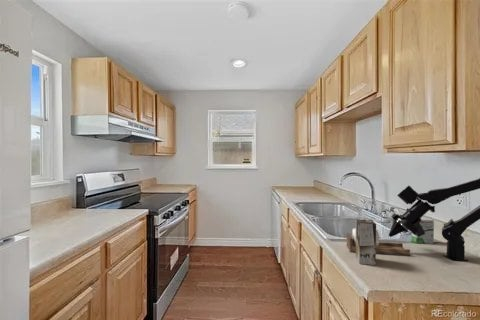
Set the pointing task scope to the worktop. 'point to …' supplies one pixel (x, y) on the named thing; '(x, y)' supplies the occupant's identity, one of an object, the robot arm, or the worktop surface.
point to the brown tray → (382, 248)
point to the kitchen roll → (355, 238)
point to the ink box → (429, 232)
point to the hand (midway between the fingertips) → (389, 236)
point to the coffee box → (366, 242)
